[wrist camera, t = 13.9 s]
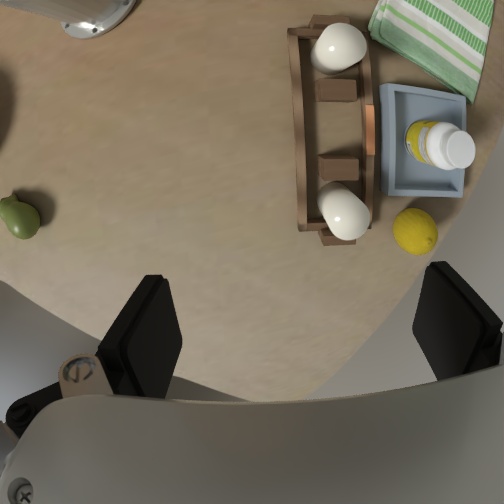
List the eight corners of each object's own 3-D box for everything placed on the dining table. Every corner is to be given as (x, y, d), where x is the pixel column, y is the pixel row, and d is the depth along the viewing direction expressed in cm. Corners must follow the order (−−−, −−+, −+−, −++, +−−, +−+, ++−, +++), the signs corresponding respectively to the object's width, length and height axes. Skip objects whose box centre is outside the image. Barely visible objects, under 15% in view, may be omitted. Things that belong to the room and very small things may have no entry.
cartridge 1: (308, 40, 29) (319, 21, 22) (344, 42, 29) (364, 25, 21) (311, 74, 31) (323, 62, 24) (348, 75, 31) (368, 65, 23)
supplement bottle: (441, 129, 31) (485, 137, 23) (430, 166, 34) (472, 183, 25) (408, 113, 31) (449, 115, 22) (397, 152, 33) (435, 165, 25)
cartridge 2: (316, 182, 36) (328, 198, 29) (351, 182, 36) (371, 198, 29) (316, 217, 38) (327, 241, 31) (350, 215, 38) (368, 239, 31)
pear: (21, 250, 36) (-9, 222, 36) (44, 238, 41) (12, 213, 41) (23, 218, 34) (-8, 192, 34) (47, 208, 39) (15, 185, 39)
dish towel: (361, 38, 29) (368, 33, 26) (397, -67, 19) (403, -75, 17) (468, 104, 30) (479, 105, 28) (491, -4, 21) (500, -8, 18)
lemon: (383, 239, 39) (405, 266, 32) (386, 200, 37) (411, 220, 29) (417, 238, 39) (443, 264, 31) (422, 201, 36) (451, 220, 29)
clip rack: (286, 24, 28) (288, 14, 25) (362, 28, 28) (372, 19, 24) (297, 234, 39) (300, 246, 36) (367, 231, 39) (376, 243, 35)
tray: (378, 85, 31) (387, 83, 28) (453, 96, 30) (465, 96, 27) (379, 190, 36) (388, 195, 33) (451, 191, 35) (462, 197, 33)
